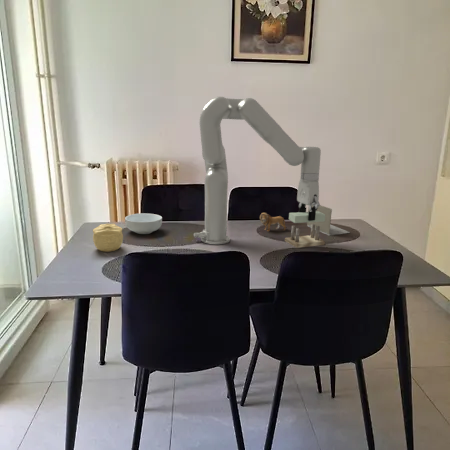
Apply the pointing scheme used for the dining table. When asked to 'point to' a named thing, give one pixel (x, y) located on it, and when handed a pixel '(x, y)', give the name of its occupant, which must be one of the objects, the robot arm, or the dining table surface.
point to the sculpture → (107, 237)
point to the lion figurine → (272, 221)
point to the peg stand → (305, 238)
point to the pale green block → (305, 217)
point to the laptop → (326, 223)
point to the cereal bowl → (143, 223)
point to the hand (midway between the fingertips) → (306, 218)
